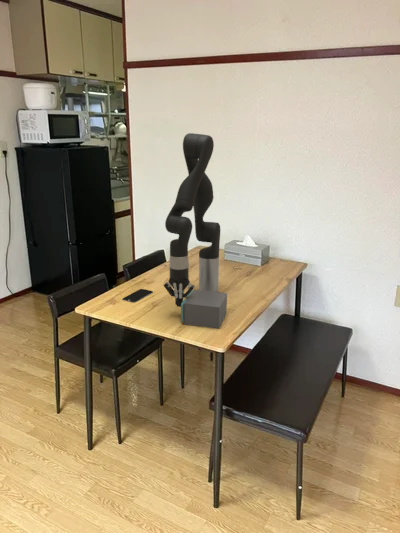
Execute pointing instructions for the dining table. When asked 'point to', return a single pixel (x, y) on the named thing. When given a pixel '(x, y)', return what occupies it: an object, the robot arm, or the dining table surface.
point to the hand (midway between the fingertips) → (179, 305)
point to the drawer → (183, 306)
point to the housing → (205, 309)
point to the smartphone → (137, 295)
